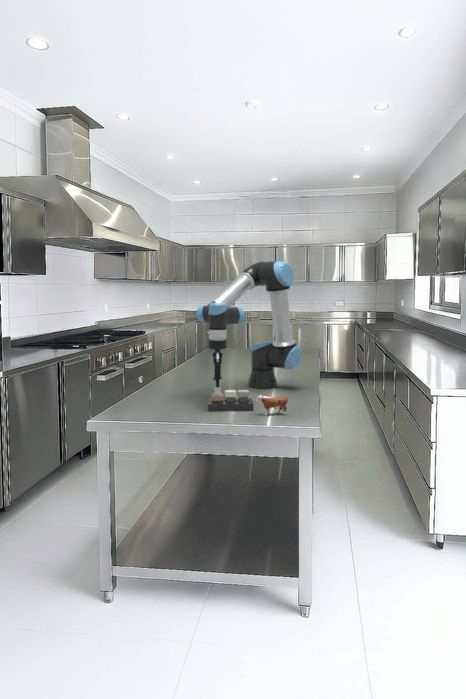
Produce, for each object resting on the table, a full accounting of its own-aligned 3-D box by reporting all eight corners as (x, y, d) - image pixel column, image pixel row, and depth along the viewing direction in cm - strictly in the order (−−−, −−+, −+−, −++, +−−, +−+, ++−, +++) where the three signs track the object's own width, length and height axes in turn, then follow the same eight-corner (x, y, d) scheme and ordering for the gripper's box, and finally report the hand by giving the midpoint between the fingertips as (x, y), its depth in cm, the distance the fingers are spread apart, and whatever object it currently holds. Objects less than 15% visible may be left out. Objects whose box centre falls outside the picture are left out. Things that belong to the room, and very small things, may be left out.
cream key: (235, 401, 240) (235, 389, 240) (235, 404, 236) (236, 392, 235) (224, 401, 240) (224, 390, 240) (225, 404, 236) (225, 392, 235)
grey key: (248, 401, 241) (248, 389, 240) (248, 403, 236) (248, 391, 235) (237, 401, 240) (237, 389, 240) (238, 404, 236) (238, 392, 235)
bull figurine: (254, 413, 229) (254, 394, 228) (286, 412, 230) (287, 393, 229) (255, 415, 224) (256, 396, 223) (288, 415, 225) (288, 395, 224)
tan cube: (222, 405, 240) (222, 393, 240) (223, 407, 236) (223, 395, 235) (212, 405, 240) (212, 393, 240) (212, 407, 236) (212, 395, 235)
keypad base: (251, 404, 245) (251, 398, 244) (253, 410, 233) (253, 404, 232) (208, 404, 244) (208, 398, 244) (208, 411, 232) (208, 404, 232)
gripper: (208, 337, 241) (208, 391, 244) (208, 341, 228) (208, 397, 231) (226, 337, 241) (225, 391, 244) (226, 341, 228) (226, 397, 231)
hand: (217, 394), depth 237 cm, fingers closed
